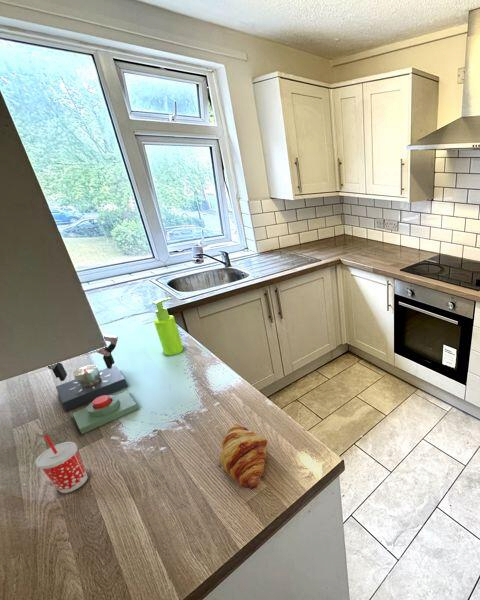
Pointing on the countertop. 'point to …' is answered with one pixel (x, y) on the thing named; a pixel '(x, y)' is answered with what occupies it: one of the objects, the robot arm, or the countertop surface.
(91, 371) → the dial
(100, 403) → the button
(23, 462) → the countertop surface
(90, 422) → the button block
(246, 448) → the croissant
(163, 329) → the soap dispenser
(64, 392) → the dial panel
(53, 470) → the beverage cup
